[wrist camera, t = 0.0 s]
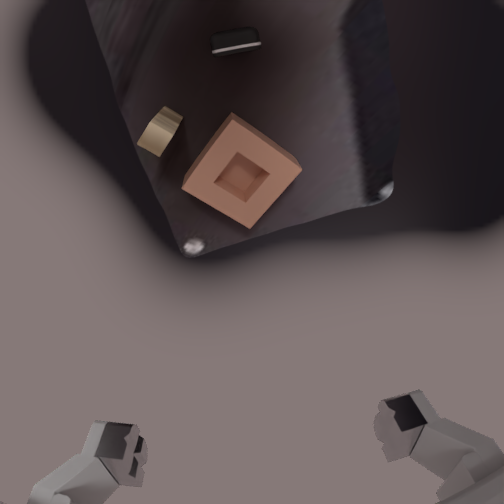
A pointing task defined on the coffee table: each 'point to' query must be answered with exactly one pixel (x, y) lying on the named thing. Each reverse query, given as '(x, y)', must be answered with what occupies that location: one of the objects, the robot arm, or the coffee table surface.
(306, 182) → the coffee table surface
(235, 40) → the battery charger
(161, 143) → the maple pin
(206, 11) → the coffee table surface
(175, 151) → the coffee table surface
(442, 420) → the robot arm
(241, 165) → the terracotta socket block
